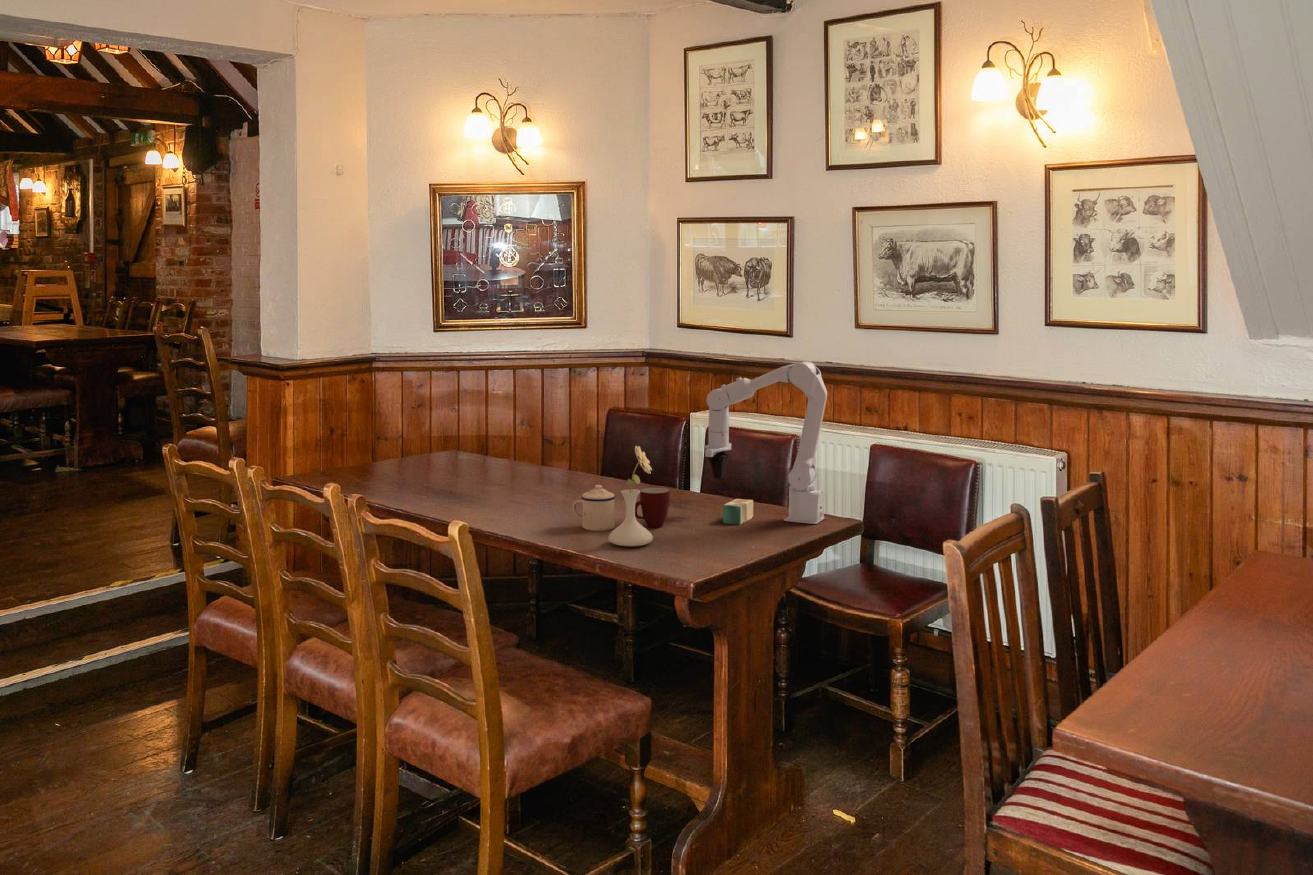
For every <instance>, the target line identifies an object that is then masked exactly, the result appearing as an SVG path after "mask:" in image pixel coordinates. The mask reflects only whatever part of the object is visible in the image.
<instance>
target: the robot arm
mask: <svg viewBox="0 0 1313 875" xmlns="http://www.w3.org/2000/svg"><path fill="white" fill-rule="evenodd" d="M735 380H736V381H734V382H731V383H729V384H721V385H720V388H716V389H713V390H711V391H710V392H709V393H707V396H706V404H707V406H708V444H707V445H704V449H705V451H704V453H705V454H704V455H705V457H706V458H707V459H708V462H709V464H710V466H711V467H710V468H711V470H712V474H713V478H714V479H717V480H723V477H724V473H725V470H726V466H727V463H728V460H729V458H730V457H731V453H730V452H726V451H732V443H731V442H729V441H730V439H729V438H730V436H729V435H730V431H729V430H730V425H729V424H730V415H729V412H730V411H729V410H730V408H729V407H730V405H731V406H732V405H734V404H738V403H740V402H742V401H745V400H747V399H751V398H752V397H753V396H754V394H755V391H757V390H759V389H761V388H765V387H768V386H770V385H773V384H775V383H778V382H783V383H791V384H793V385H794V387H797V388H798V389H800V390H801V391H802V392H803V394H804V395H805V396H806V398H807V400H808V401H807V405H806V411H805V414H804V415H805V416H804V420H803V425H802V426H803V427H802V430H801V435H800V439H799V440H800V441H799V445H798V450H797V455H796V458H795V461H794V463H793V467H792V469H791V470H790V471H789V473H788V476H787V481H788V483H789V486H788V488H789V489H788V493H789V494H788V516H787V517H785V518H784V519H783V521H785V522H791V523H792V522H793V523H802V524H810V525H811V524H812V525H816V524H818V523H820V522H821V521H823V520H824V519H825V494H824V491H823V490H819V489H816V485H815V483H814V481H815V480H816V478H817V470H816V463H817V458H816V455H817V454H816V453H817V449H818V445H819V439H820V435H821V430H822V424H823V420H824V415H825V410H826V404H827V398H828V390H827V388H826V385H825V383H824V380H823V378H822V372H821V370H820V369H819V368H818V367H817V366H816V364H814V363H813V362H811V361H809V360H802V361H801V362H798V363H792V364H787V365H785V366H780V367H778V368H776V369H773V370H771V371H769V372H767V373H764V374H763V375H762V374H761V376H758V377H755V378H753V379H749V378H747V377H743V378H742V377H741V376H740V377H738V378H736V379H735Z"/></svg>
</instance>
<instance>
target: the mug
mask: <svg viewBox="0 0 1313 875" xmlns="http://www.w3.org/2000/svg"><path fill="white" fill-rule="evenodd" d="M639 491H640V493H639V501H636V503H635V518H636V519H638V520H644V523H645V524H646V526H647V527H648V528H650V529H660V528H662V527H663V526H664V524H665V522H666V520H667V518H668V511H669V508H670V507H669V506H670V500H671V493H670V492H671V491H670V489H669V488H664V487H645V488H641V489H640V490H639ZM639 506H640V508H641V514H642V516H641V515H638V508H639Z"/></svg>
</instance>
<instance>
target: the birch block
mask: <svg viewBox="0 0 1313 875" xmlns="http://www.w3.org/2000/svg"><path fill="white" fill-rule="evenodd" d="M722 505H723V506H722V507H723V508H722V523H723V522H724V523H723V524H730V525H731V524H732V525H742V524H744V523H745V522H747V521H750V520H751V519H753V518H754V500H753V499H744V498H735V499H733V500H731V501H728V502H727V503H725V504H722ZM752 517H753V518H752ZM743 522H744V523H743Z"/></svg>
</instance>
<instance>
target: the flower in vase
mask: <svg viewBox="0 0 1313 875" xmlns="http://www.w3.org/2000/svg"><path fill="white" fill-rule="evenodd" d="M634 453H635V456H636V459H637V461H638V462H637V463H636V465H635V467H634V469H633V471H632V475H631V478H628V479H627V480H626V482H625V483H624V485H626V486H630V487H629V489H623V490H620V493H621V495H622V496H623V498H624V502H625V503H624V504H625V518H624V519H623V520H624V521H623V522H622V523H621V524H619V525H618V526H617V527H616V528H614V529H613V530H612V531H611V532H610V533H609V535H608V541H609V542H610V543H611V544H614V545H615V546H620V547H640V546H644V545H647V544H650V543H651V542H652V541H653V539H654V537H653V535H652V533H651V532H650V531H649V530H648V529H647V528H645V527H644V526H643V524H641V523H640V522H638V520H637V518H636V517H635V503H636V502H637V498H638V496H639V495H640V490H639V489H632V488H633V485H634V484H635V483H636V484H637V485H639V484H640V483H641V478H640V476H638V474H635V473H636V470H637V468H638V466H639V465H640V467H641V468H642V469H643V471H644V472H645V473H647V474H652V473H651V471H653V469H652V466H651V465H650V464H651V462H650V460H649V459H648V458H647V455H646V452H645V451H642V449H641V446H639V445H638V446H637V445H635V447H634Z"/></svg>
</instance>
